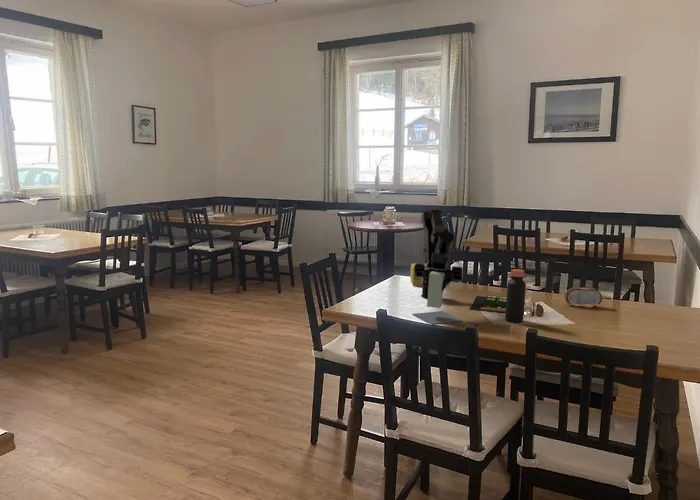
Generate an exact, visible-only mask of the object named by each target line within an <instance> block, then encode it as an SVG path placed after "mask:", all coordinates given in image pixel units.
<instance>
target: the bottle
mask: <svg viewBox="0 0 700 500" xmlns="http://www.w3.org/2000/svg"><path fill="white" fill-rule="evenodd" d="M510 277H511V278H510V279H509V280H508V281H507V286H506V297H507V298H506V309H505V310H506V312H505V314H504V319H505V321H506V322H508V323H512V322H513V323H514V324H520V322H521V323H523V322H524V316H523V315H524V303H525V301H526V290H527V287H526V286H527V283H526V282H525V280H524V277H525V270H524V269H518V268H513V269H512V268H511V270H510Z"/></svg>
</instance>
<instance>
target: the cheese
mask: <svg viewBox="0 0 700 500" xmlns="http://www.w3.org/2000/svg"><path fill="white" fill-rule="evenodd" d="M415 264H416V263H411V266H410V272H409V274H410V275H409V276H410V282H411V284H412V286H413V287H423V285H422V283H421V277H417V276H415V271H414V266H415ZM424 264H425V266H426V264H427V263H424Z"/></svg>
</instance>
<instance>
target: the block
mask: <svg viewBox="0 0 700 500" xmlns="http://www.w3.org/2000/svg"><path fill="white" fill-rule="evenodd" d="M444 274H445V273H443V272H434V271H432V272H431V273H430V274H429V286H428V299H426V300H427V301H426V307H428V308H434V309H435V308H436V309H440V308H441V307H442V306H443V299H444V298H443V296H444V290H443V291H442V285H443V282H444V278H445V275H444Z"/></svg>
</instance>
